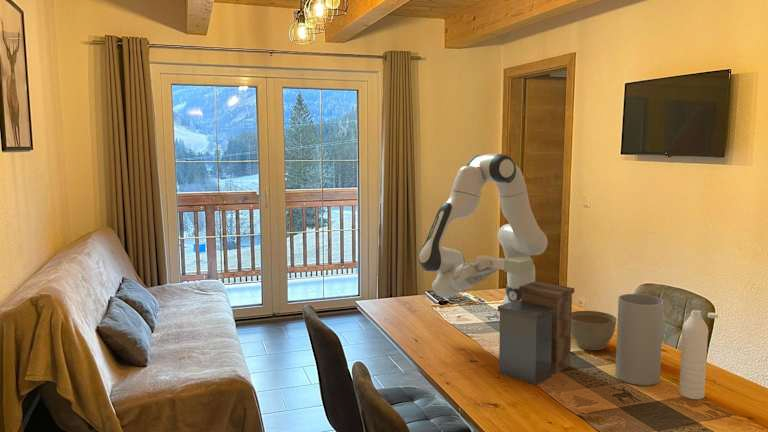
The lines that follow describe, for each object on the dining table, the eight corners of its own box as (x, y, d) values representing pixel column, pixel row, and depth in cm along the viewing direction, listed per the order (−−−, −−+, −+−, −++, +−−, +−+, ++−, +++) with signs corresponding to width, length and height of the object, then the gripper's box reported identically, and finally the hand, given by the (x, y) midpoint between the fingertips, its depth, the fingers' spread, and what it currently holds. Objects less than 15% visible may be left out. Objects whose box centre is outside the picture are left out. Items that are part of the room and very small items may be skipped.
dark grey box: (514, 364, 190) (515, 299, 187) (553, 376, 180) (554, 308, 177) (496, 373, 183) (497, 306, 180) (535, 386, 173) (537, 315, 170)
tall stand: (534, 354, 198) (535, 281, 194) (572, 365, 188) (574, 288, 184) (518, 362, 191) (519, 286, 188) (556, 374, 181) (558, 294, 178)
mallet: (486, 262, 206) (486, 251, 206) (532, 270, 193) (533, 258, 192) (472, 265, 201) (472, 254, 200) (519, 274, 187) (519, 262, 186)
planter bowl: (622, 345, 205) (623, 315, 204) (604, 358, 194) (605, 327, 192) (579, 335, 216) (580, 307, 215) (559, 347, 205) (560, 317, 203)
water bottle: (675, 394, 166) (679, 310, 162) (683, 387, 170) (688, 305, 167) (708, 404, 159) (713, 317, 156) (716, 397, 164) (721, 312, 161)
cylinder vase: (656, 390, 169) (660, 307, 166) (611, 381, 176) (614, 301, 172) (662, 374, 180) (666, 297, 176) (619, 367, 186) (622, 291, 183)
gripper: (445, 272, 201) (473, 257, 192) (480, 262, 215) (508, 248, 206) (452, 288, 200) (480, 274, 190) (487, 278, 214) (515, 265, 204)
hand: (495, 261), depth 198 cm, fingers closed on mallet, 4 cm apart
